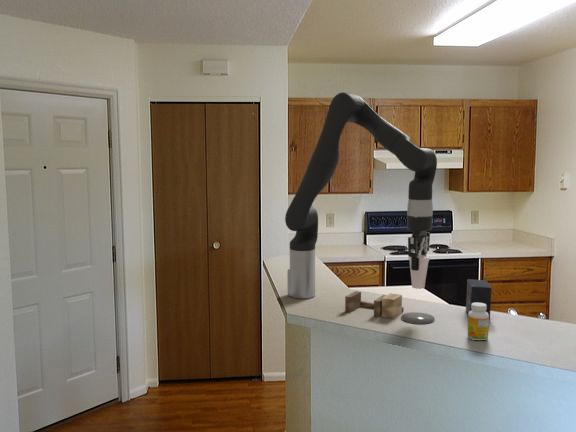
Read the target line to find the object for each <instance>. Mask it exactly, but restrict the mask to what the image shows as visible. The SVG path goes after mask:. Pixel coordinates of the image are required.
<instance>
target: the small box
mask: <svg viewBox="0 0 576 432" xmlns="http://www.w3.org/2000/svg"><path fill="white" fill-rule="evenodd" d="M465 301H466V302H465V303H466V304H465V311H466V313H467V315H468V313H469V312H470V311H471V310H472V309H471V304H472V303H476V302H478V303H484V304H486V305H487V309H486V312H487V313H488V314H489V321H490V320H491V306H492V286H491V285H490V284H489V282H488V281H487V280H485V279H484V280H483V279H470V278H468V279H466V300H465Z"/></svg>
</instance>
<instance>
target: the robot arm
mask: <svg viewBox="0 0 576 432" xmlns="http://www.w3.org/2000/svg"><path fill="white" fill-rule="evenodd" d="M347 123H354V124H356V125H358V126H360V127H362V128H363V129H364V130H365V129H366V131H368V132H369V133H370V134H371V135H372V137H373V138H374V139H375V141H376V142H377V143H378V144H379V145H381V146H382V147H383V148H384V149H386V150H387V151H388V152H390V153H391V154H392V155H394V156H395V157H396V158H397V159H398V160H399V162H400V163H401V164H402V165H403V166H404V167H405V168H406V169H408V170H409V171H412V172H414V177H413V179H412V180H411V181H409V184H408V195H407V196H408V199H407V200H408V201H407V210H406V211H407V213H406V217H407V218H406V229H407V230H408V231H412V234H411V236H409V237H407V249H408V250H407V255H408V258H409V257H411V269H412V270H416V271H417V270H419V256H420V252H421V255H426V256H427V255H428V252H429V251H430V240H431V239H430V237H431V232H430V231H431V230H432V229H433V214H434V213H433V210H434V208H433V207H434V205H433V184H434V181H435V176H436V173H437V168H438V159H437V155H436V153H435V151H434V150H432V149H430V148H427V147H426V148H425V147H418V146H417V145H415V144H414V143H413V141H412V139H411V138H410V136H408V135H407V134H405V132H403V131H401V130H400V129H398V128H397V127H395V126H394V125H393V124H391V123H390V122H388V120H385V118H384V117H381V116H380V114H378V113H377V112H376V111H375V110H374V109H373V108H372V107H371V106H370V105H369V104H368V103H367V101H365V100H364V99H363V98H362V97H361V95H360V96H359V95H357V94H354V93H350V92H339V93H336V95H334V97H332V100H331V102H330V104H329V107H328V111H327V113H326V117H325V121H324V124H323V127H322V130H321V133H320V135H319V137H318V140H317V144H316V146H315V148H314V150H313V153H312V154H311V157H310V159H309V162H308V165H307V168H306V170H305V172H304V174H303V177H302V179H301V182H300V183H299V184H300V185H299V186H298V189H297V190H296V193H295V195H294V197H293V198H292V200H291V202H290V204H289V206H288V208H287V210H286V213H285V217H284V220H285V222H284V223H285V225H286V227H287V228H288V230H290V231H291V232H296V233H295V235H294V237H293V238H292V239H291V240H290V241H289V269H288V270H287V273H286V274H287V296H289V297H291V298H295V299H311V298H314V297H315V296H316V244H317V241H318V236H319V235H318V234H319V214H318V211H317V209H316V208H315V207H314V205H313V203H314V201H315V199H316V198H317V196H318V195H319V194H320V193H321V192H322V190H323V189H325V187H326V186H327V185H328V184H329V183H330V181H331V179H332V178H333V175H334V174H335V172H336V169H337V167H338V164H339V161H340V139H341V135H342V133H343V130H344V128H345V126H346V124H347ZM428 231H429V232H428Z"/></svg>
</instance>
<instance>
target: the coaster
mask: <svg viewBox="0 0 576 432" xmlns="http://www.w3.org/2000/svg"><path fill="white" fill-rule="evenodd" d="M401 320H402V321H404V322H406V323H408V324H409V323H410V324H414V325H415V324H417V325H427V324H431V323H433V322H435V316H433V315H432V314H430V313H429V314H428V313H424V312H416V311H415V312H405V313H403V314H401Z"/></svg>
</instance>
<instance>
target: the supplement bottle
mask: <svg viewBox="0 0 576 432" xmlns="http://www.w3.org/2000/svg"><path fill="white" fill-rule="evenodd" d="M471 309H472V310H471V311H470V312H469V313H468V314H467V318H468V319H467V338H468V339H469V338H470V339H469V340H471V339H472V341H474V340H486V339H487V340H489V321H490V320H489V314H488V313H487V312H486V309H487V305H486V304H484V303H478V302H476V303H472V304H471ZM487 340H486V341H487Z"/></svg>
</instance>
